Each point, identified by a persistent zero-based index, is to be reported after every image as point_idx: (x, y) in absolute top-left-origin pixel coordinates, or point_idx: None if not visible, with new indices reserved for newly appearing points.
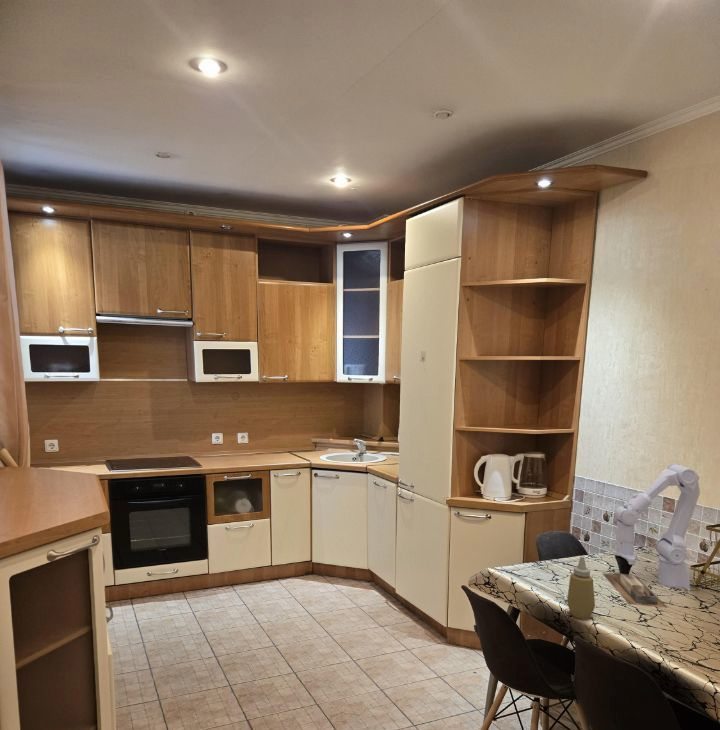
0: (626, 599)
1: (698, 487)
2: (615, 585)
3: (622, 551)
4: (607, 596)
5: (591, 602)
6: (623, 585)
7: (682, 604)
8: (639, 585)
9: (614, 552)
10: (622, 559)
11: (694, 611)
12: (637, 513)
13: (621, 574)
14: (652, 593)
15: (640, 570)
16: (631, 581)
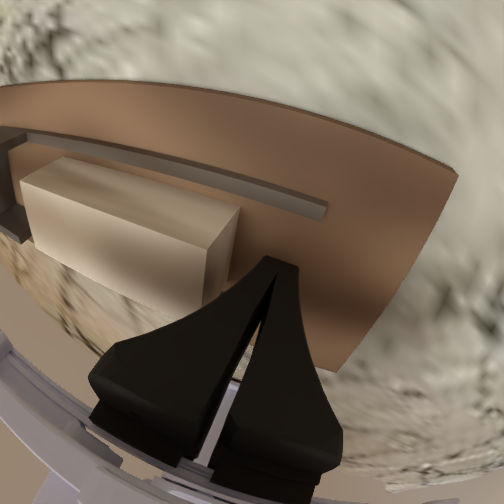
0: (12, 93)
1: None
2: (159, 111)
3: (35, 498)
4: (56, 7)
5: None
6: (169, 183)
7: (79, 309)
8: (30, 226)
9: (85, 500)
10: (122, 408)
11: (50, 298)
12: None
13: (185, 243)
14: (6, 230)
15: (415, 421)
16: (61, 219)
